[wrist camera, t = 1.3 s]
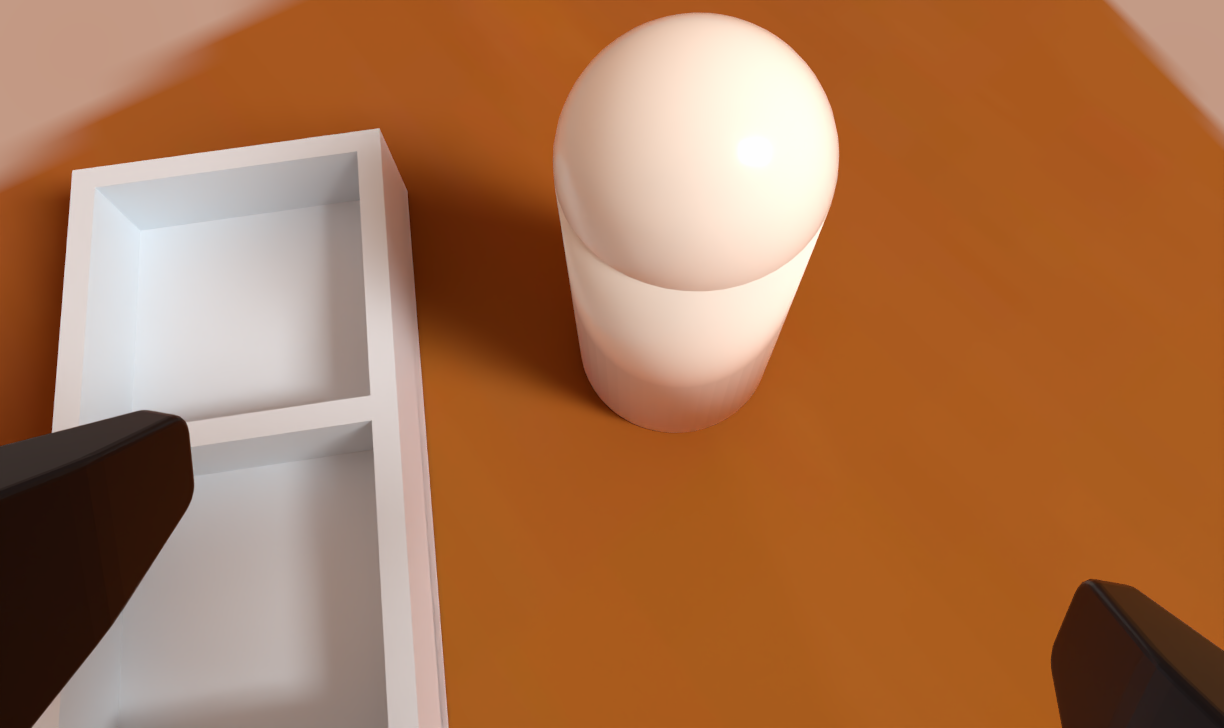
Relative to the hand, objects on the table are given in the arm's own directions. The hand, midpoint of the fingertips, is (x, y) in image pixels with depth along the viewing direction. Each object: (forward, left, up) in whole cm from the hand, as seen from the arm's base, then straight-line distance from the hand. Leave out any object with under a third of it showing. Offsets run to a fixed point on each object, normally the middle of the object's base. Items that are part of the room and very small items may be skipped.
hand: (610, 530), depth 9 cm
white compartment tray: (-4, +7, -13) cm, 16 cm away
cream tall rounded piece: (+7, +3, -13) cm, 15 cm away
